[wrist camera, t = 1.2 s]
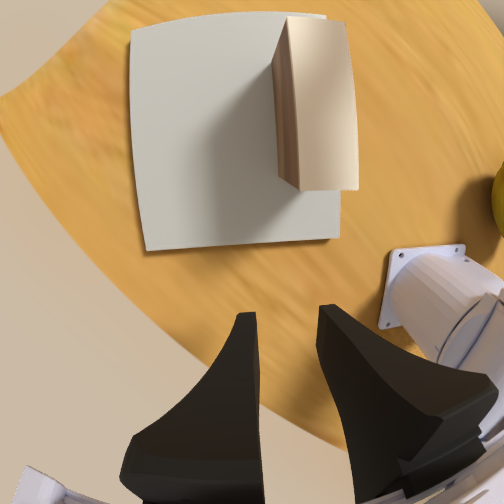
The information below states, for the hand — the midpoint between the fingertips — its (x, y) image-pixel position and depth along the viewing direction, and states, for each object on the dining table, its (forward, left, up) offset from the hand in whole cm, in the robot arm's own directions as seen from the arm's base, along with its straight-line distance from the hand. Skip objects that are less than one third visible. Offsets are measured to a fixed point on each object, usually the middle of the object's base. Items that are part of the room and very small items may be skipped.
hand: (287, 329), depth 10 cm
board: (+2, -9, -10) cm, 14 cm away
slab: (-2, -9, -9) cm, 13 cm away
